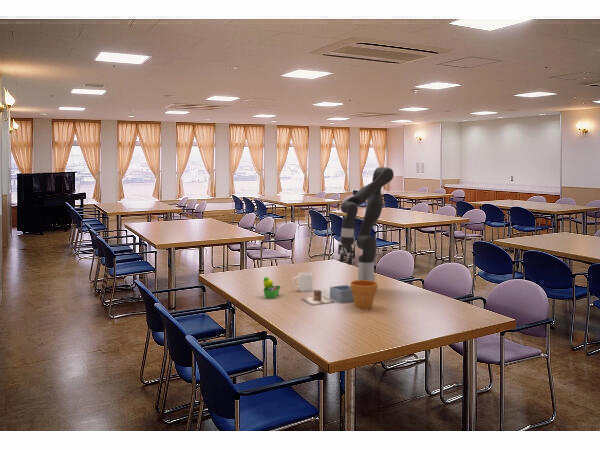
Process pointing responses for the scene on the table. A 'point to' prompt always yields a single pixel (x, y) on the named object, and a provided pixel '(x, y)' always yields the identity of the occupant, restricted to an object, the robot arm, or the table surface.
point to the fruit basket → (270, 288)
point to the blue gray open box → (341, 293)
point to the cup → (304, 282)
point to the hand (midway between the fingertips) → (345, 263)
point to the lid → (317, 299)
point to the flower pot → (363, 293)
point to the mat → (319, 304)
